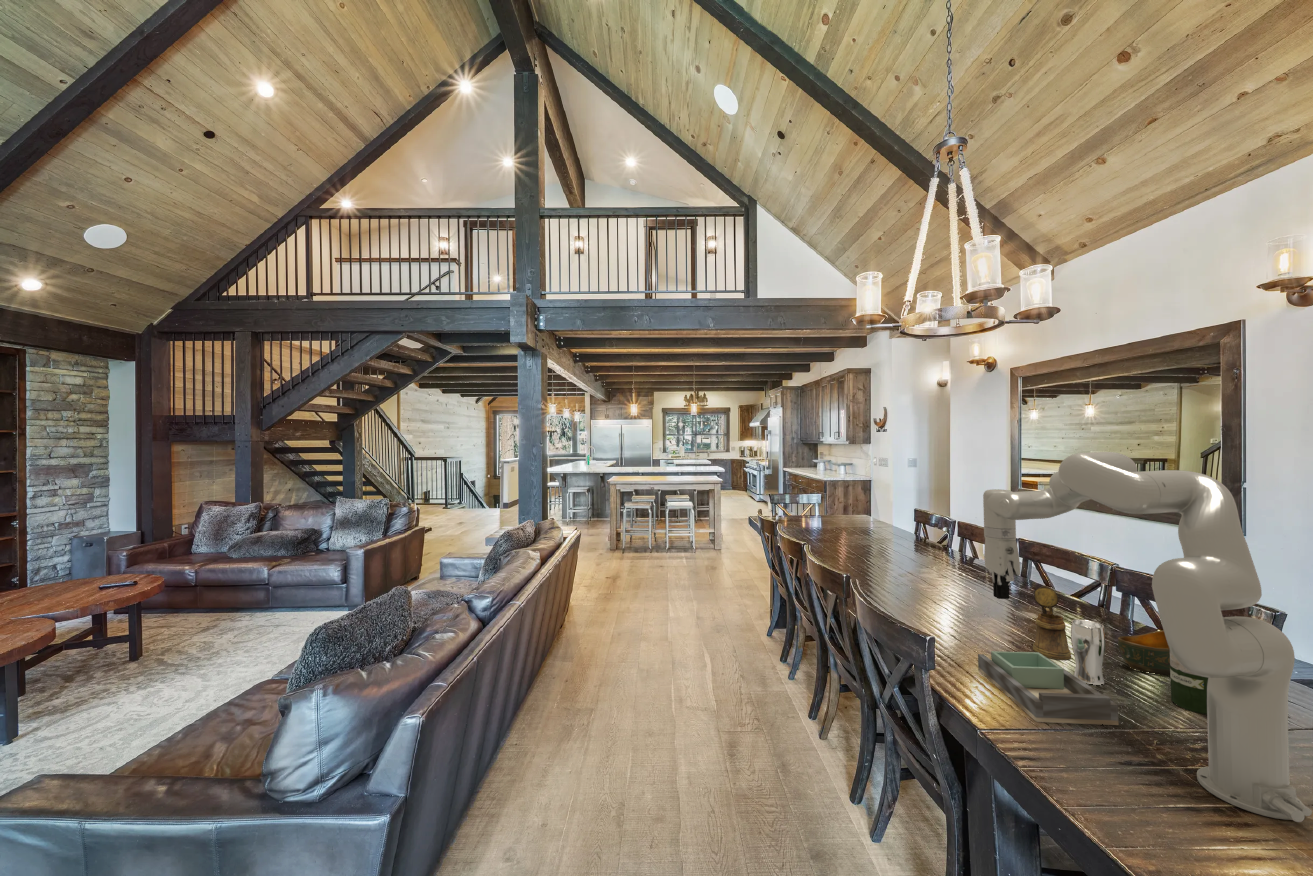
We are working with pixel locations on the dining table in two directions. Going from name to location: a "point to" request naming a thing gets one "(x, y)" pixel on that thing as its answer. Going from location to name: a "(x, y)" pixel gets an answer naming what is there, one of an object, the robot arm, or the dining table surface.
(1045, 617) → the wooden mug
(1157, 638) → the green gold bowl
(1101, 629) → the beer glass
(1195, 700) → the wine bottle
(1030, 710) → the bay
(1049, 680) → the box
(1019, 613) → the dining table surface
